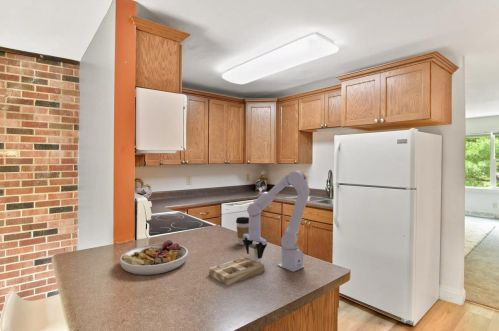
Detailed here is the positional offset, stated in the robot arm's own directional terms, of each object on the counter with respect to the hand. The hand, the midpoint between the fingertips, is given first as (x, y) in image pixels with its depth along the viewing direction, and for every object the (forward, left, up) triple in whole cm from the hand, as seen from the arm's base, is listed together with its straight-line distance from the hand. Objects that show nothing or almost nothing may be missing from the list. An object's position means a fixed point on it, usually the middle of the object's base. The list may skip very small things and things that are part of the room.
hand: (254, 255), depth 133 cm
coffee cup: (+25, -14, -3) cm, 29 cm away
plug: (0, 0, -3) cm, 3 cm away
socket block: (-5, +15, -3) cm, 16 cm away
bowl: (+29, +37, -3) cm, 47 cm away
